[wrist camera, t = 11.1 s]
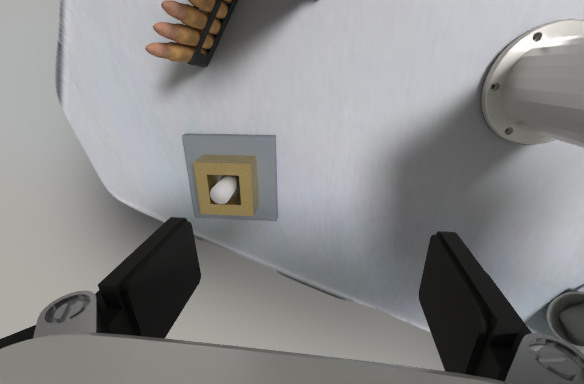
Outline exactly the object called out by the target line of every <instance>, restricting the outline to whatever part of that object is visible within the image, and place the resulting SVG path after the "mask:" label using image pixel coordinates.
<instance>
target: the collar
mask: <svg viewBox="0 0 584 384" xmlns="http://www.w3.org/2000/svg"><path fill="white" fill-rule="evenodd" d="M193 165H194V172H195V178H196V185H197V192H198V199H199V206H200V213H201V214H213V215H236V216H254V214H255V212H256V210H257V208H258V205H259V195H258V176H257V157H256V156H245V155H206V154H204V155H203V156H201V157H200V158H199V159H197V160H196V161H194V162H193ZM217 175H236V176H239V184H240V194H233V195H232V196H231V198H230V199H229V201H228V202H227V203H225V204H218V203H215V202H214V201H213V200H212V199H211V196H210V191H211V189H212V188H213V187H214V186H215V185H216V184H217V182H218V176H217Z"/></svg>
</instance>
